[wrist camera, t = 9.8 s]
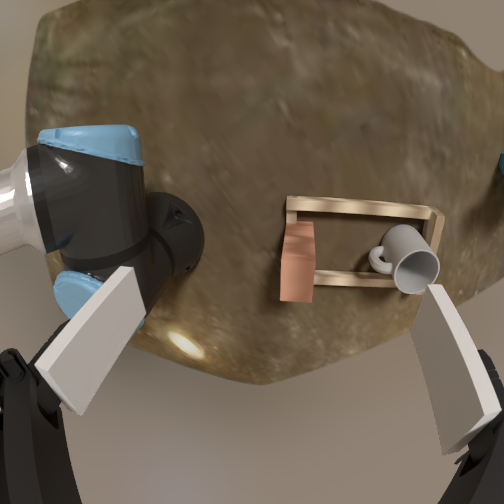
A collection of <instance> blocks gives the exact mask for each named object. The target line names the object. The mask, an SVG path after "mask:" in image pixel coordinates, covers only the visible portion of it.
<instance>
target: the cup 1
mask: <svg viewBox="0 0 504 504" xmlns="http://www.w3.org/2000/svg"><path fill="white" fill-rule="evenodd" d="M380 256H383V257H384V259H385V262H386V263H385V262H382V261H381V260H380V259H379V257H380ZM369 261H370V264H371V266H372V267H373V269H375V270H376V271H377V272H380V273H382V274H391V275H392V277H393V280H394V282H395V284H396V286H397V287H398V289H399V290H401V291H402V292H404V293H407V294H416V293H420V292H422V291H424V290H426V287H427V284H433V283H434V282H435V280H436V278H437V276H438V274H439V270H440V264H439V259H438V258H437V256H436V255H435V253H434V252H433V251H432V249H431V248H430V247H429V245H428V244H427V243H426V241H425V240H424V239H423V238H422V236H421V235H420V234H419V232H418V231H417V230H416V229H415V228H413V227H412V226H409V225H404V224H402V225H397V226H395V227H393V228H391V229H390V230H389V231H387V233H386V234H385V235H384V237H383V239H382V243H381V246H378V247H375V248H373V249H372V250H371V252H370V254H369Z"/></svg>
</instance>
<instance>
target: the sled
mask: <svg viewBox="0 0 504 504" xmlns="http://www.w3.org/2000/svg"><path fill="white" fill-rule="evenodd" d="M286 210H287V221H286V230H285V237H284V244H283V251H282V258H281V290H280V301H294V302H312V294H313V285H314V284H317V285H339V286H365V287H397V286H396V284H395V282H394V280H393V277H392V275H391V274H382V273H368V272H345V271H324V270H315V264H316V257H315V243H314V230H313V222H303V221H297V210H303V211H323V212H340V213H356V214H370V215H383V216H395V217H407V218H418V219H425V221H424V226H423V231H422V238H423V239H424V240H425V241H426V243H427V244H428V245H429V247H430V248H431V249H432V251H433V252H434V253H435V255H436V253H437V249H438V246H439V242H440V238H441V233H442V229H443V225H444V220H445V216H444V215H443V214H442V213H441V212H440V211H439V210H438V209H437V208H436V207H430V206H422V205H412V204H403V203H392V202H381V201H369V200H356V199H342V198H325V197H306V196H287V202H286ZM397 288H398V287H397ZM424 293H425V290H424V291H422V292H420V293H416V295H424Z"/></svg>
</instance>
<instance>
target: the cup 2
mask: <svg viewBox="0 0 504 504" xmlns="http://www.w3.org/2000/svg"><path fill="white" fill-rule="evenodd" d="M499 166H500V170H501V173H502V175H503V176H504V152H502V153H501V157H500V161H499Z"/></svg>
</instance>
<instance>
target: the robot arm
mask: <svg viewBox="0 0 504 504" xmlns="http://www.w3.org/2000/svg"><path fill="white" fill-rule="evenodd" d="M37 140H38V143H40V144H38V145H35V146H32V147H28V148H25V149H23V151H22V153H21V154H20V156H19V158H18V159H17V161H16V162H15V164H14V165H13V166H12V167H11V168H8V169H5V170H2V171H0V256H2V255H5V254H7V253H9V252H12V251H15V250H17V249H20V248H22V247H25V246H30V247H32V248H34V249H36V250H38V251H39V252H41V253H43V254H47V253H50V252H52V251H55V250H58V249H59V251H60V255H61V259H62V262H63V266H64V272H61V273H60V274H58V276H57V279H56V281H55V284H54V287H53V290H54V295H55V299H56V301H57V303H58V305H59V307H60V308H61V310H62V311H63V313H64V314H65V315H66V316H67V318H68V319H69V320H67V321H66V322H65V323H63V324H61V325H60V326H59V327H58V329H57V330H56V331H55V332H54V335H52V336H51V337H50V338H49V339H48V342H46V343H45V344H44V345H43V346H42V348H41V349H40V350H39V352H38V353H37V354H36V355H35V356H34V358H33V359H32V360H31V361H30V363H29V364H28V365H27V364H26V362H25V360H24V359H23V357H22V356H21V355H20V353H19V352H18V350H17V349H14V348H10V349H7V350H5V351H3V352H2V353H1V354H0V408H1V412H0V504H82V502H81V499H80V495H79V492H78V489H77V485H76V481H75V478H74V474H73V470H72V466H71V461H70V458H69V452H68V447H67V442H66V436H65V431H64V424H63V417H62V411H61V408H60V407H59V405H60V403H61V402H62V403H63V404H64V405H65V406H66V407H67V409H68V410H70V411H73V412H74V413H76V414H78V415H81V416H82V415H83V413H84V412H85V410H86V408H87V407H88V404H89V403H90V402H91V400H92V398H93V397H94V395H95V393H96V392H97V390H98V388H99V387H100V385H101V383H102V381H103V380H104V378H105V377H106V375H107V373H108V372H109V370H110V369H111V367H112V365H113V364H114V362H115V360H116V359H117V357H118V356H119V354H120V353H121V351H122V349H123V348H124V346H125V345H126V343H127V342H128V340H129V339H131V338H132V337H133V336H134V334H135V333H136V332H137V331H138V329H139V328H140V327H142V326H143V325H144V322H145V319H146V317H147V316H148V314H149V313H150V311H151V310H152V308H153V307H154V305H155V304H156V302H157V301H158V299H159V298H160V296H161V295H162V293H163V292H164V290H165V289H166V287H167V286H168V284H169V283H170V281H172V280H174V279H175V278H177V277H179V276H181V275H183V274H185V273H186V272H188V271H189V270H190V269H191V268H192V267H193V266H194V265H195V264H196V262H197V261H198V259H199V257H200V256H201V254H202V251H203V247H204V232H203V228H202V225H201V222H200V220H199V218H198V216H197V215H196V213H195V212H194V211H193V209H192V208H191V207H190V206H189V205H188V204H187V203H185V202H184V201H183V200H181V199H180V198H178V197H176V196H174V195H171V194H168V193H162V192H154V193H149V194H146V195H145V187H144V172H143V166H144V162H143V160H142V153H141V143H140V136H139V133H138V132H137V130H136V129H135V128H133V127H132V126H129V125H94V126H78V127H67V128H56V129H46V130H42V131H41V132H40V133H39V137H38V139H37ZM410 333H411V336H412V339H413V342H414V345H415V348H416V351H417V354H418V357H419V361H420V364H421V367H422V370H423V374H424V377H425V381H426V384H427V388H428V391H429V395H430V400H431V404H432V407H433V412H434V416H435V420H436V425H437V430H438V435H439V440H440V445H441V450H442V455H446V454H450V453H454V452H458V451H460V450H461V449H462V448H463V447H464V446H466V445H467V444H468V447H469V450H468V451H467V452H466V453H465V454H464V455H462V456H461V457H460V458H459V459H457V461H456V462H455V463H454V464H458V463H459V462H460V461H462V462H461V464H460V466H459V468H458V470H457V472H456V473H455V475H454V477H453V479H452V481H451V483H450V485H449V486H448V488H447V490H446V491H445V493H444V495H443V496H442V498H441V500H440V501H439V502H438V504H504V387H503V384H502V382H501V380H500V379H499V375H498V373H497V371H495V366H494V364H493V362H492V360H491V358H490V357H489V356H488V355H487V354H486V352H485V351H483V349H482V350H477V349H476V347H475V345H474V343H473V341H472V339H471V337H470V335H469V333H468V331H467V329H466V327H465V325H464V323H463V322H462V320H461V318H460V316H459V314H458V312H457V311H456V309H455V307H454V305H453V303H452V302H451V300H450V298H449V297H448V295H447V293H446V291H445V290H444V288H443V287H442V285H432V284H427V287H426V290H425V293H424V296H423V299H422V301H421V304H420V307H419V310H418V313H417V315H416V318H415V321H414V323H413V326H412V328H411V331H410Z"/></svg>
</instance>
